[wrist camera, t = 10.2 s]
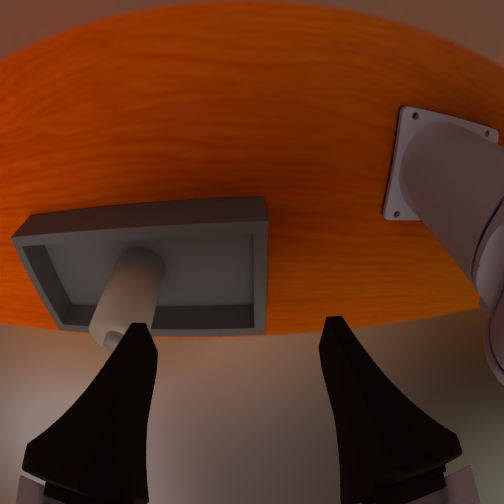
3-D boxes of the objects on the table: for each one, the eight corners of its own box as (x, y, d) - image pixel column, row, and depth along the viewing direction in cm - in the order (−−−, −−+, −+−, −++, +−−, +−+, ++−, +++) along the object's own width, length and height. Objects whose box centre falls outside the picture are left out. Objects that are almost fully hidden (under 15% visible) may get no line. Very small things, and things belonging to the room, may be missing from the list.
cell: (159, 246, 19) (133, 328, 14) (169, 285, 22) (151, 366, 16) (112, 248, 19) (76, 324, 14) (125, 285, 21) (99, 361, 16)
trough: (263, 196, 18) (268, 221, 16) (262, 305, 24) (265, 334, 22) (30, 215, 18) (10, 237, 15) (71, 305, 24) (59, 329, 21)
